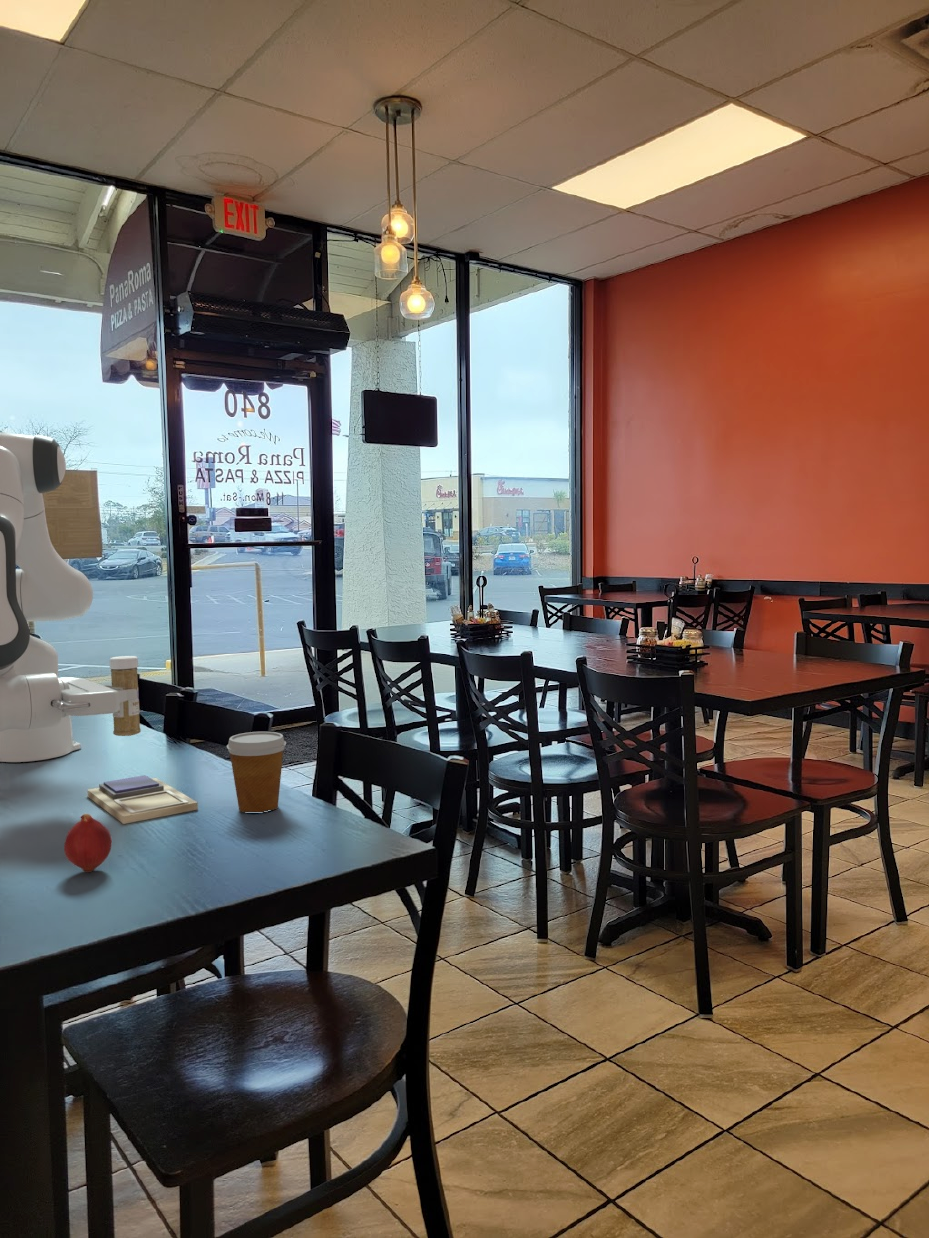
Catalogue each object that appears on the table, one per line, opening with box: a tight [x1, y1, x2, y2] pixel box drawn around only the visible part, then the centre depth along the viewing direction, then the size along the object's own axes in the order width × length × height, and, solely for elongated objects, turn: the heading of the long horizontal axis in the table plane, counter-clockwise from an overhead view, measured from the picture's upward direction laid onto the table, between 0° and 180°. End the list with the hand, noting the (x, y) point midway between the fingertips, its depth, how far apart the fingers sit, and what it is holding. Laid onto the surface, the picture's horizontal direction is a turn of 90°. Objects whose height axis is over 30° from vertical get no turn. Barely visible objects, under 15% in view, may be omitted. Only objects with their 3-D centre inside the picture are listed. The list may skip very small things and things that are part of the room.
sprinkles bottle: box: [109, 655, 142, 737], centre depth 154 cm, size 5×5×13 cm
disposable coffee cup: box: [226, 731, 287, 813], centre depth 147 cm, size 10×10×12 cm
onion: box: [63, 813, 113, 873], centre depth 120 cm, size 6×6×8 cm
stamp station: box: [86, 774, 199, 825], centre depth 152 cm, size 20×12×2 cm, turn 38°
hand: (130, 691), depth 155 cm, fingers closed on sprinkles bottle, 4 cm apart
